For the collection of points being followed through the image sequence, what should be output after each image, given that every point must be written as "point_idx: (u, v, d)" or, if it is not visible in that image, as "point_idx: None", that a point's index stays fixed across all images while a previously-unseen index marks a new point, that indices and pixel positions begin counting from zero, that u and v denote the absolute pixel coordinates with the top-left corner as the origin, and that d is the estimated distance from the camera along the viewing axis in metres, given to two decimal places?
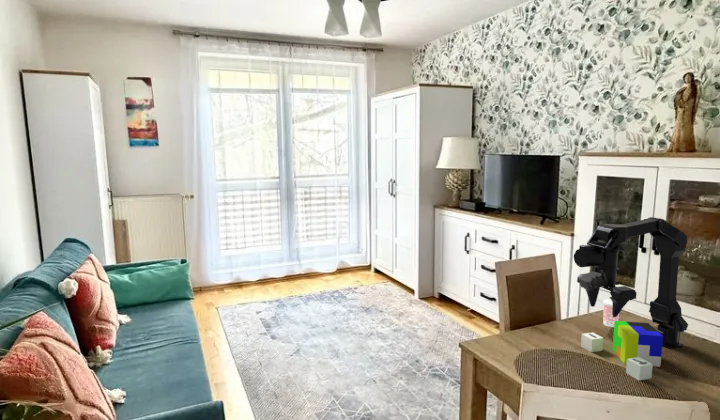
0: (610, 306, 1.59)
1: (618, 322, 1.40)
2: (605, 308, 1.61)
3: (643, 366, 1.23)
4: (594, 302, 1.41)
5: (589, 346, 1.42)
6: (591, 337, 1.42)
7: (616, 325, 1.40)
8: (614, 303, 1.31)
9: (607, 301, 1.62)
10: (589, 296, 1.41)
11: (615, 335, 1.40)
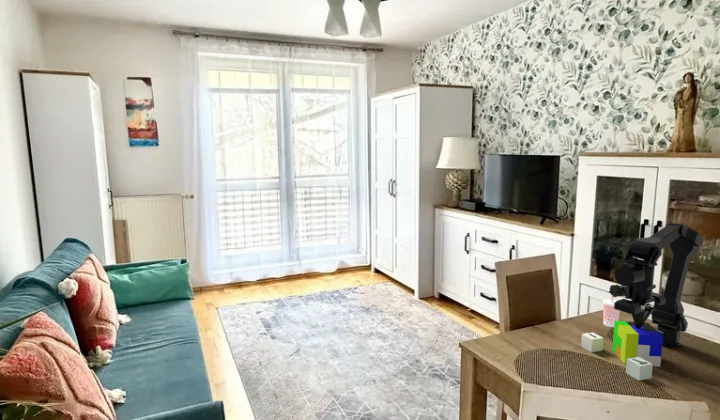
0: (610, 306, 1.59)
1: (618, 322, 1.40)
2: (605, 308, 1.61)
3: (643, 366, 1.23)
4: None
5: (589, 346, 1.42)
6: (591, 337, 1.42)
7: (616, 325, 1.40)
8: None
9: (607, 301, 1.62)
10: None
11: (615, 335, 1.40)
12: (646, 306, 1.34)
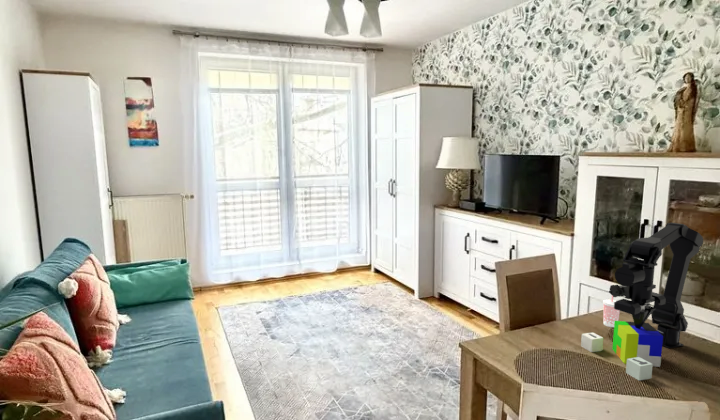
0: (610, 306, 1.59)
1: (618, 322, 1.40)
2: (605, 308, 1.61)
3: (643, 366, 1.23)
4: None
5: (589, 346, 1.42)
6: (591, 337, 1.42)
7: (616, 325, 1.40)
8: None
9: (607, 301, 1.62)
10: None
11: (615, 335, 1.40)
12: (646, 306, 1.34)
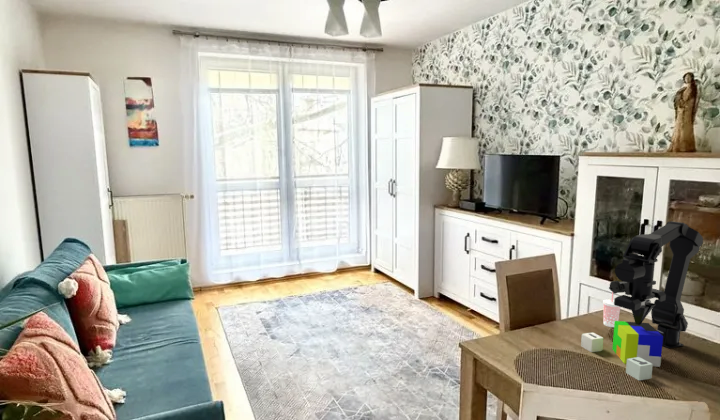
0: (610, 306, 1.59)
1: (618, 322, 1.40)
2: (605, 308, 1.61)
3: (643, 366, 1.23)
4: None
5: (589, 346, 1.42)
6: (591, 337, 1.42)
7: (616, 325, 1.40)
8: None
9: (607, 301, 1.62)
10: None
11: (615, 335, 1.40)
12: (646, 302, 1.34)
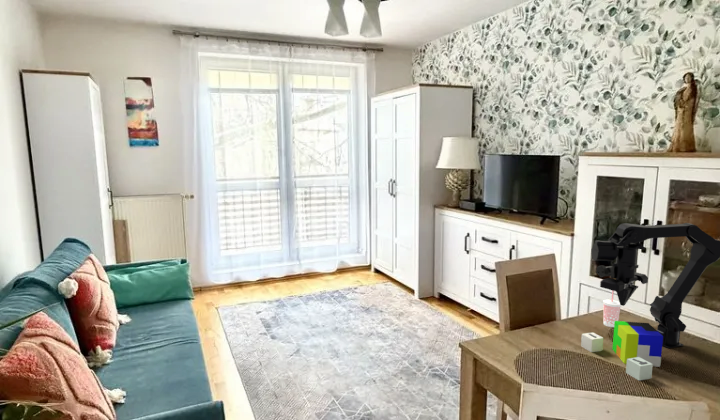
0: (610, 306, 1.59)
1: (618, 322, 1.40)
2: (605, 308, 1.61)
3: (643, 366, 1.23)
4: None
5: (589, 346, 1.42)
6: (591, 337, 1.42)
7: (616, 325, 1.40)
8: None
9: (607, 301, 1.62)
10: None
11: (615, 335, 1.40)
12: (630, 285, 1.45)
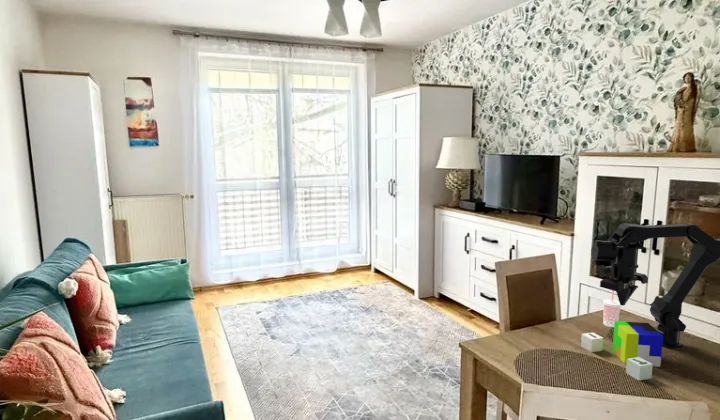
0: (610, 306, 1.59)
1: (618, 322, 1.40)
2: (605, 308, 1.61)
3: (643, 366, 1.23)
4: None
5: (589, 346, 1.42)
6: (591, 337, 1.42)
7: (616, 325, 1.40)
8: None
9: (607, 301, 1.62)
10: None
11: (615, 335, 1.40)
12: (630, 284, 1.45)
